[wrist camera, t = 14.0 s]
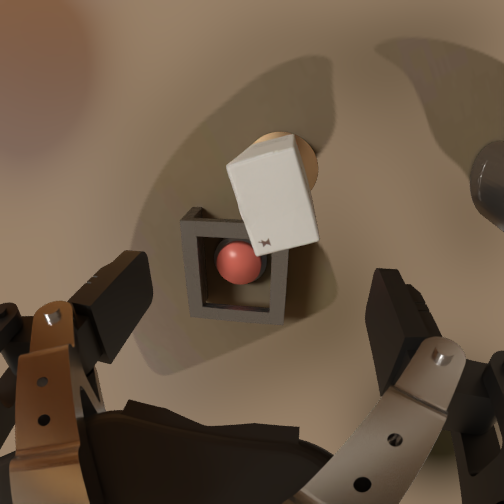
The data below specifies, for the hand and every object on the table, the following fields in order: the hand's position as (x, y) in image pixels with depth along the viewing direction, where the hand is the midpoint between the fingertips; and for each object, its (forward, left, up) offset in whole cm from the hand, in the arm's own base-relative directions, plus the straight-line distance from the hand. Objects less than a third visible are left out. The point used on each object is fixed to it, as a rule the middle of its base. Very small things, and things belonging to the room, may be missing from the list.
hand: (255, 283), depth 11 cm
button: (+4, +10, -20) cm, 23 cm away
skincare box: (0, 0, -20) cm, 20 cm away
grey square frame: (+4, +10, -21) cm, 23 cm away
